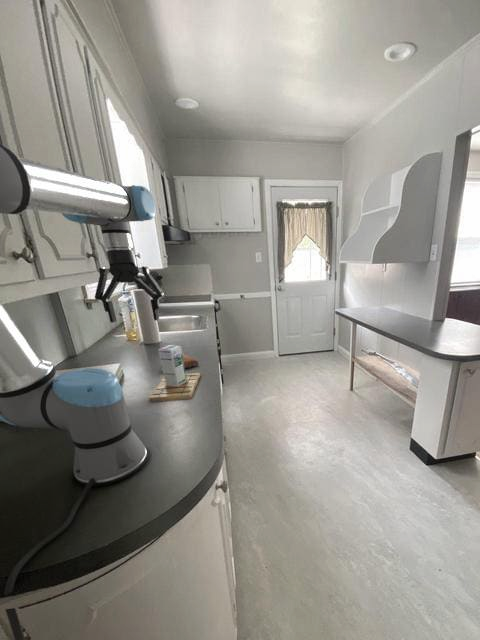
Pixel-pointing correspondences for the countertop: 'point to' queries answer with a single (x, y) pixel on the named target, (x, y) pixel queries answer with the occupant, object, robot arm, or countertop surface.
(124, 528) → the countertop surface
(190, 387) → the board
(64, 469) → the countertop surface
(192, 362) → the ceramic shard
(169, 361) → the syrup box
